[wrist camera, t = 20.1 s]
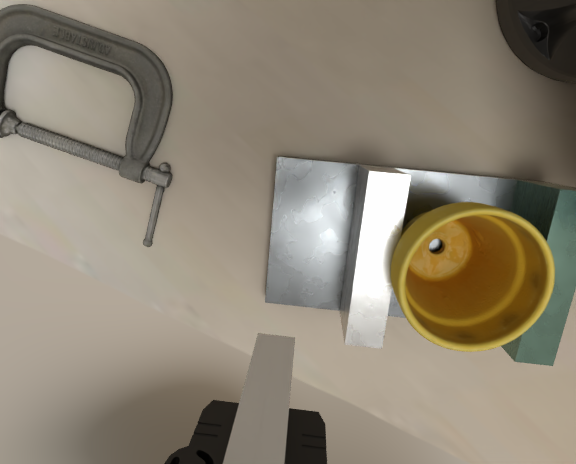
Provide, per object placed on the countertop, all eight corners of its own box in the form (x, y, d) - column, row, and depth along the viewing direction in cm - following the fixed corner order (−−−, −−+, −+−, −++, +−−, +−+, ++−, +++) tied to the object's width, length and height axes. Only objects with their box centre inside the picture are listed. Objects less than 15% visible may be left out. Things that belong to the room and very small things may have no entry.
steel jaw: (359, 165, 34) (369, 171, 28) (393, 168, 34) (410, 175, 28) (339, 311, 37) (344, 344, 32) (370, 315, 37) (381, 348, 31)
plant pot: (373, 193, 35) (396, 214, 25) (493, 183, 34) (563, 202, 24) (377, 300, 37) (400, 357, 28) (489, 294, 36) (552, 350, 27)
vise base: (278, 156, 36) (270, 161, 29) (542, 181, 35) (603, 193, 28) (266, 296, 39) (256, 332, 32) (507, 322, 39) (552, 365, 31)
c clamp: (217, 80, 35) (209, 76, 33) (153, 246, 39) (141, 253, 37) (6, -20, 34) (-19, -34, 32) (-37, 160, 38) (-62, 162, 36)
